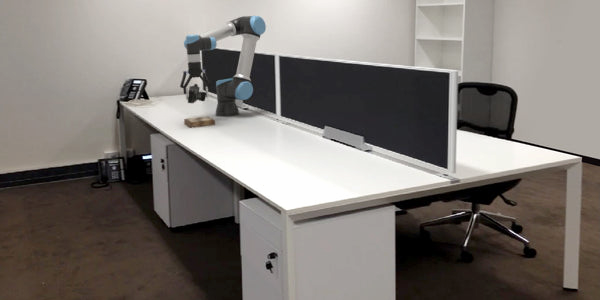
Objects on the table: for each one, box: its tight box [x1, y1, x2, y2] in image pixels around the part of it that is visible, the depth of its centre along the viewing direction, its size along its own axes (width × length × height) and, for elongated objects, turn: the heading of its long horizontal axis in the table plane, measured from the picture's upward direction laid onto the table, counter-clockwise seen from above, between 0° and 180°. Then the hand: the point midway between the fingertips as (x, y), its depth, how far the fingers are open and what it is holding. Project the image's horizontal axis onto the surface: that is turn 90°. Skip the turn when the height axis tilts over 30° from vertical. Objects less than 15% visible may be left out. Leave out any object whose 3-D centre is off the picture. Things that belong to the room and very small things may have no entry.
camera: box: [187, 83, 207, 104], centre depth 355 cm, size 18×9×10 cm, turn 2°
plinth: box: [183, 116, 216, 129], centre depth 358 cm, size 15×15×3 cm
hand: (197, 98), depth 355 cm, fingers closed on camera, 11 cm apart
